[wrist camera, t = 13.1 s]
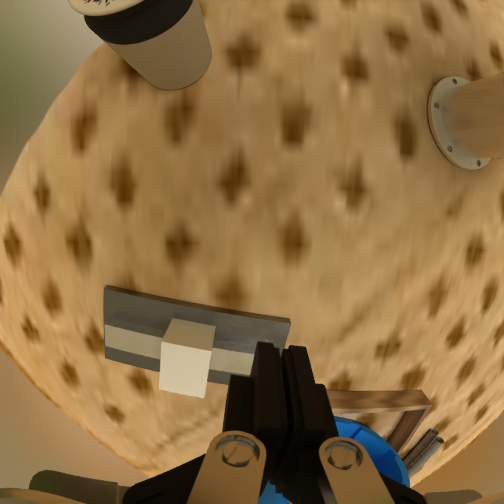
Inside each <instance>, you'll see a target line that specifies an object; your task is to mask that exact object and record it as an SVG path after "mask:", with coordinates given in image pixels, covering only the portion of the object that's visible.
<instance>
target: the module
mask: <svg viewBox="0 0 504 504" xmlns="http://www.w3.org/2000/svg"><path fill="white" fill-rule="evenodd" d="M215 328H216V326H212V325H207V324H201V323H196V322H191V321H186V320H181V319H176V318H172V320H171V322H170V325H169V327H168V329H167V331H166V333H165V335H164V337H163V340H162V343H161V359H160V380H159V389H160V390H165V391H170V392H174V393H179V394H184V395H189V396H194V397H200V398H204V396H205V390H206V384H207V378H208V372H209V365H210V358H211V352H212V346H213V340H214V334H215Z"/></svg>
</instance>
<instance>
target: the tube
mask: <svg viewBox="0 0 504 504" xmlns="http://www.w3.org/2000/svg"><path fill="white" fill-rule="evenodd" d="M334 419H335V422H336V426H337V430H338V433H339V437H347V438H351V439H353V440H355V441H357V442H359V443H360V444H361V445H363V447H364V448H365V449H366V451H367V452H368V454H369V456H370V458H371V460H372V462H373V463H374V465H375V467H376V469H377V471H378V472H380V473H382V474H384V475H386V476H387V477H389V478H391V479H393V480H395V481H397V482H399V483H401V484H403V485H405V486H407V487H409V488H410V480H409V475H408V472H407V469H406V467H405V465H404V463H403V461H402V459H401V458H400V456H399V455H398V454H397V452H396V451H395V450H394V449H393V448H392V447H391V445H390V444H389V443H387V442H386V441H385V440H384V439H383V438H382V437H380V436H379V435H378V434H376V433H375V432H373V431H372V430H370V429H369V428H367V427H365V426H363V425H361V424H359V423H357V422H354V421H352V420H349V419H346V418H342V417H337V416H334ZM289 502H290V501H288V500H287V499H286V498H284V497H283V494H278V493H275V485H270V483H269V480H268V482H267V485H266V487H265V489H264V491H263V494H262V496H260V497H259V498H258V502H257V504H289Z"/></svg>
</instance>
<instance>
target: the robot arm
mask: <svg viewBox="0 0 504 504" xmlns="http://www.w3.org/2000/svg"><path fill="white" fill-rule="evenodd" d="M428 118H429V124H430V128H431V131H432V134H433V136H434V139H435V141H436V143H437V145H438V147H439V148H440V150H441V152H442V153H443V154H444V155H445V156H446V158H447V159H448V160H449V161H451V162H452V163H453V164H454V165H456V166H458V167H459V168H463V169H466V170H477V169H480V168H483V167H484V166H486V165H487V164H488V163H489V161H490V160H491V159H492V158H504V72H502V73H498V74H495V75H492V76H488V77H485V78H482V79H479V80H475V81H472V82H470V81H469V80H467V79H465V78H462V77H458V76H450V77H447V78H444V79H442V80H440V81H439V82H437V83H436V84H435V85H434V87H433V89H432V90H431V93H430V96H429V101H428ZM268 480H269V483H270V485H275V493H278V494H283V497H284V498H286V499H287V500H288V501H290V502H289V504H504V492H500V493H496V494H493V495H489V496H486V497H482V495H481V494H480V493H478V492H477V491H475V490H460V491H449V492H431V493H425V494H424V495H423V496H422V495H421V494H419V493H418V492H417V491H415V490H413V489H411V488H409V487H407V486H405V485H403V484H401V483H399V482H397V481H395V480H393V479H391V478H389V477H387V476H386V475H384V474H382V473H380V472H378V471H377V469H376V467H375V465H374V463H373V462H372V460H371V458H370V456H369V454H368V452H367V451H366V449H365V448H364V447H363V445H361V444H360V443H359V442H357V441H355V440H353V439H351V438H347V437H339V433H338V430H337V426H336V422H335V419H334V415H333V412H332V408H331V405H330V401H329V398H328V394H327V391H326V388H325V385H323V384H315V380H314V376H313V372H312V368H311V364H310V361H309V357H308V353H307V349H306V347H303V346H294V345H290V346H289V347H288V349H285V348H283V350H282V353H281V357H280V350H279V348H276V347H274V343H270V342H262V341H257V345H256V349H255V354H254V359H253V364H252V368H251V373H250V377H247V376H240V375H233V374H231V375H230V381H229V387H228V393H227V399H226V406H225V413H224V422H223V430H222V433H220V434H218V435H217V436H216V437H214V438H213V440H212V441H211V443H210V445H209V447H208V450H207V453H206V454H204V455H202V456H199V457H197V458H195V459H193V460H191V461H189V462H187V463H185V464H182V465H180V466H178V467H176V468H174V469H171V470H169V471H167V472H164V473H162V474H159V475H157V476H155V477H152V478H150V479H147V480H145V481H142V482H139V483H137V484H135V485H133V486H131V487H127V486H119V485H118V483H117V482H110V481H103V480H97V479H90V478H85V477H80V476H75V475H71V474H66V473H62V472H58V471H53V470H44V471H40V472H38V473H36V474H35V475H34V476H33V477H32V479H31V481H30V485H29V489H21V488H0V504H257V502H258V498H259V497H260V496H262V494H263V491H264V489H265V487H266V485H267V482H268Z"/></svg>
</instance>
